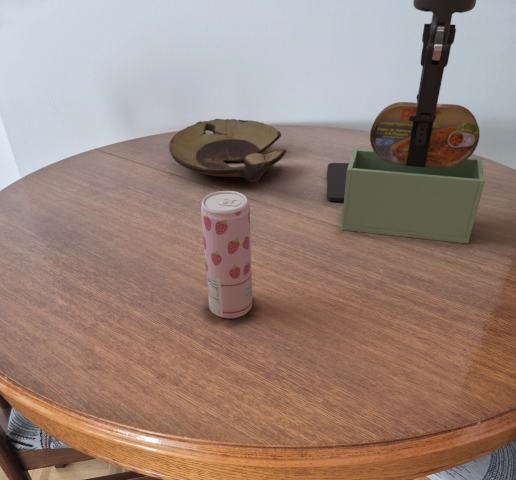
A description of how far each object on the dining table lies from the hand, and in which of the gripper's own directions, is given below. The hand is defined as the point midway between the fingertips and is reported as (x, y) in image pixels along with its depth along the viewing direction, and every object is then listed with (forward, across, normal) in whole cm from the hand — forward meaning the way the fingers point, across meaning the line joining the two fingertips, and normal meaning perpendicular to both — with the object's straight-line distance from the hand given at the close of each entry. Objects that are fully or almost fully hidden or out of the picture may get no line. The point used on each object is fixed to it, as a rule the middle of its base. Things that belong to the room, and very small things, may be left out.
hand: (415, 160), depth 81 cm
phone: (+11, -13, -11) cm, 20 cm away
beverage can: (+11, +28, -21) cm, 37 cm away
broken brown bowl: (+11, -14, -34) cm, 38 cm away
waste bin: (+10, 0, 0) cm, 10 cm away
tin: (0, 0, 0) cm, 1 cm away
